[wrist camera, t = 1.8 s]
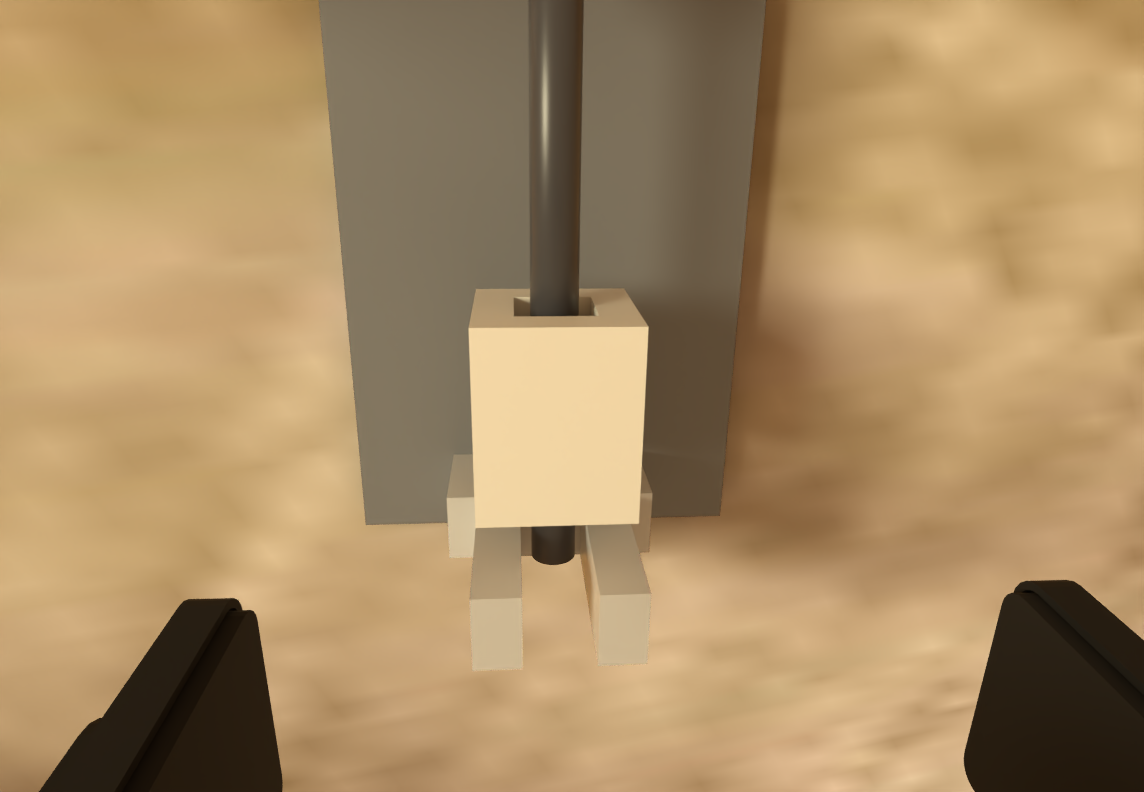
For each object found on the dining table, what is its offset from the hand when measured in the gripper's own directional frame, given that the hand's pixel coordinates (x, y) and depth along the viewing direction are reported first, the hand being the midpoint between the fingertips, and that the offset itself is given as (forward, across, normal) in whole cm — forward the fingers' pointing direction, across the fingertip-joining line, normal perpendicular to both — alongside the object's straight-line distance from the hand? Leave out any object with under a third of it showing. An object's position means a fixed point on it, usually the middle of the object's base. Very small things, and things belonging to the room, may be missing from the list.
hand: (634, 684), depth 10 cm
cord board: (+16, +1, -6) cm, 17 cm away
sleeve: (+13, +1, 0) cm, 13 cm away
